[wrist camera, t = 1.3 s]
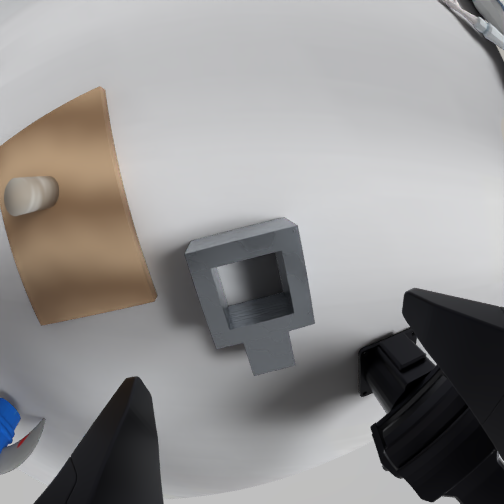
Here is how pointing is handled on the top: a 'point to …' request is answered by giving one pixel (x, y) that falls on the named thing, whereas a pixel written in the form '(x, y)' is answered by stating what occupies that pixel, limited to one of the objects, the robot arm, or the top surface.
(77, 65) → the top surface
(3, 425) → the toy rocket
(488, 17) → the toy
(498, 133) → the top surface
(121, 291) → the board
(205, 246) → the link
